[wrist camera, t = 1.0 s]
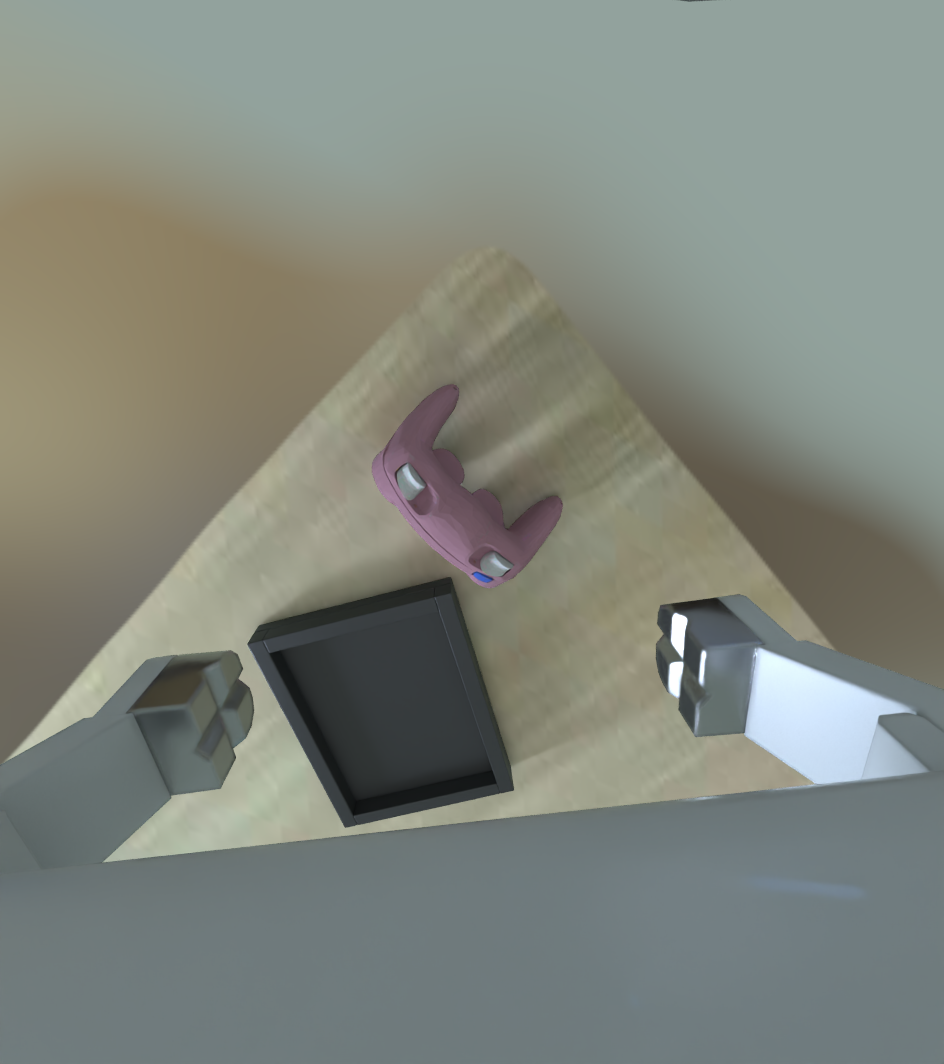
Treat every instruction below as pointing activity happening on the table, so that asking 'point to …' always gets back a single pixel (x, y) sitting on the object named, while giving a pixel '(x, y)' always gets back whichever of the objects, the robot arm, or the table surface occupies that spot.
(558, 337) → the table surface
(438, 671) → the black rectangular tray
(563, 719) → the table surface
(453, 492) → the video game controller
